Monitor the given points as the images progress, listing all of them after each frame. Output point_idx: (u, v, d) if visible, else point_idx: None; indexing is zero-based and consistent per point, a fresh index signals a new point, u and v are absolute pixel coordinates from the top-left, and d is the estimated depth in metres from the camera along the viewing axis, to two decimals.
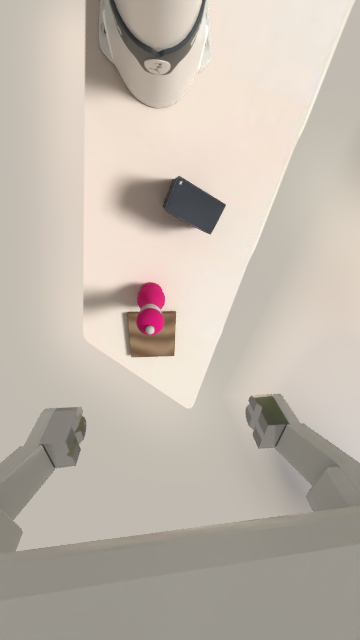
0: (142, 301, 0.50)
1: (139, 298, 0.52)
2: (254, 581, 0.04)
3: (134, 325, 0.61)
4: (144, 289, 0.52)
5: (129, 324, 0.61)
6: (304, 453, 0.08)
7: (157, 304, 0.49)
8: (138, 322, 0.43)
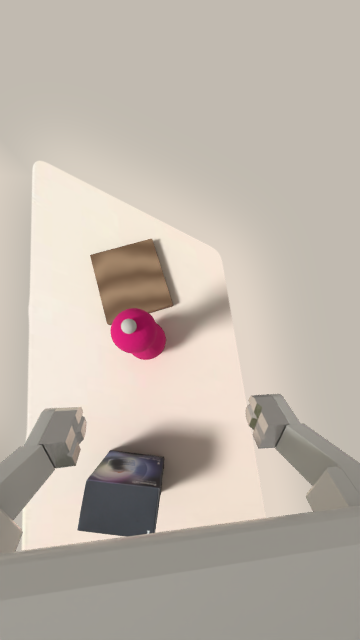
0: (156, 340, 0.35)
1: (162, 340, 0.37)
2: (254, 581, 0.04)
3: (159, 290, 0.44)
4: (158, 353, 0.37)
5: (166, 289, 0.44)
6: (304, 453, 0.08)
7: None
8: (151, 328, 0.26)
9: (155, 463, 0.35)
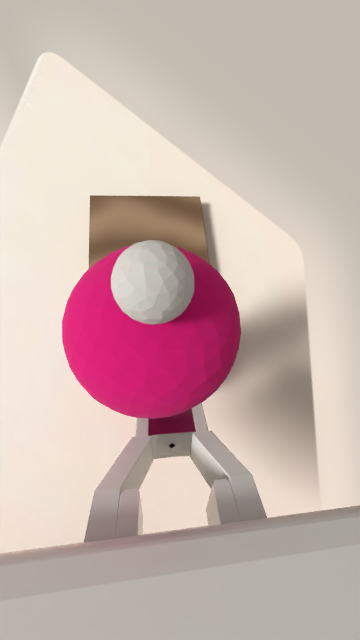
0: None
1: None
2: (254, 581, 0.04)
3: None
4: None
5: None
6: (207, 463, 0.08)
7: None
8: (236, 332, 0.06)
9: None
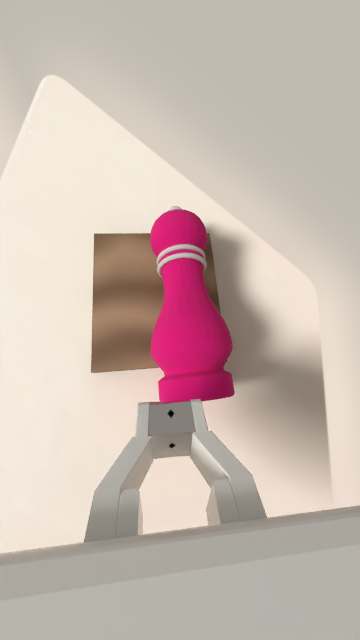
0: None
1: None
2: (254, 581, 0.04)
3: None
4: (228, 332, 0.18)
5: None
6: (207, 463, 0.08)
7: (183, 280, 0.18)
8: None
9: None
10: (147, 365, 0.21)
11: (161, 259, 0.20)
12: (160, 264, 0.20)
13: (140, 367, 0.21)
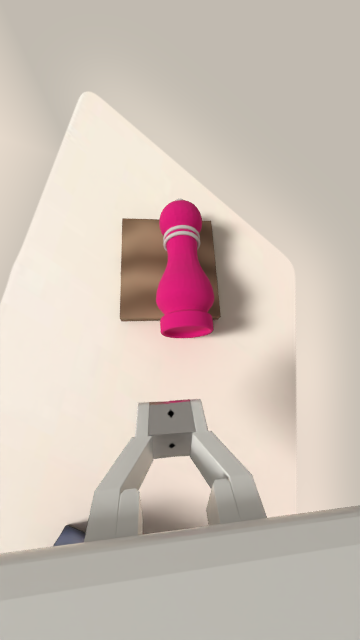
0: None
1: None
2: (254, 581, 0.04)
3: None
4: (209, 284, 0.24)
5: (216, 294, 0.30)
6: (206, 463, 0.08)
7: (176, 251, 0.26)
8: None
9: None
10: (161, 315, 0.29)
11: (164, 239, 0.27)
12: (164, 243, 0.27)
13: (155, 317, 0.28)
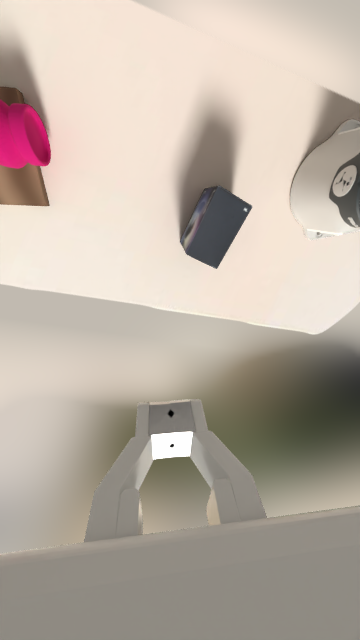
0: None
1: None
2: (254, 581, 0.04)
3: None
4: None
5: None
6: (207, 463, 0.08)
7: None
8: None
9: (203, 194, 0.35)
10: (33, 165, 0.32)
11: None
12: None
13: (36, 171, 0.33)
